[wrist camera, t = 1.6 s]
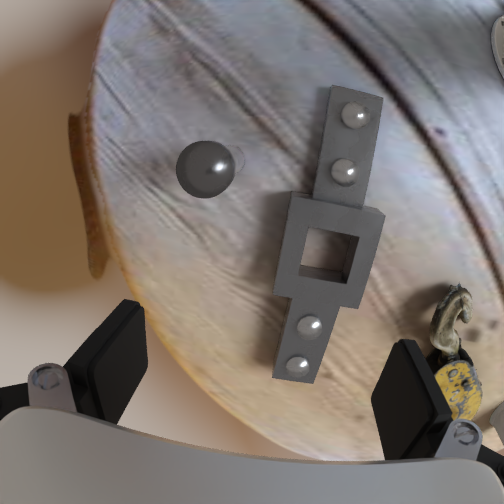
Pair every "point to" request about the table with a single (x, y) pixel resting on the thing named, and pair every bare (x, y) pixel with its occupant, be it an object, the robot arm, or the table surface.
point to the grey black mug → (498, 421)
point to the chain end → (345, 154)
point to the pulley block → (454, 355)
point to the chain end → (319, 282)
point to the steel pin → (208, 168)
